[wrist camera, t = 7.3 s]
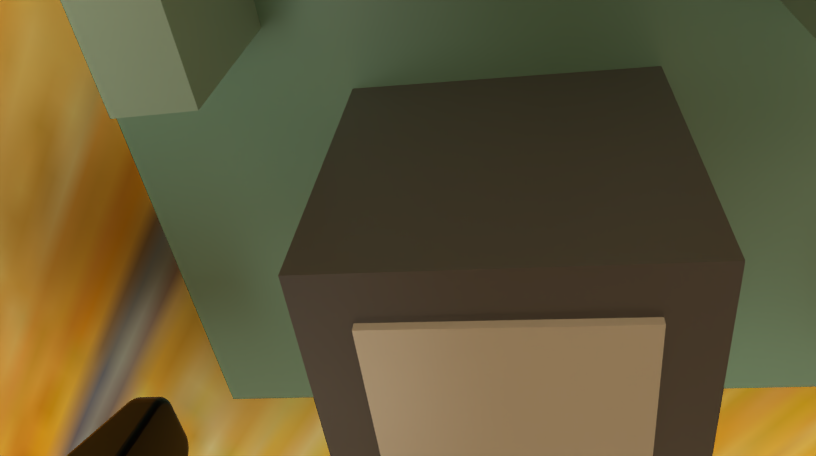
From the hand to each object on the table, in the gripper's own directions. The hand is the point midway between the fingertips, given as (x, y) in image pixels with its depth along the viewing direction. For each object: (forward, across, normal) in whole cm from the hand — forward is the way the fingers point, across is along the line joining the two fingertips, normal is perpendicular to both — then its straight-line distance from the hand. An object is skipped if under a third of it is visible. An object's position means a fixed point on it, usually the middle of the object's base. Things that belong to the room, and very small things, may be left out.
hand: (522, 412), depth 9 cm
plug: (+3, 0, 0) cm, 3 cm away
